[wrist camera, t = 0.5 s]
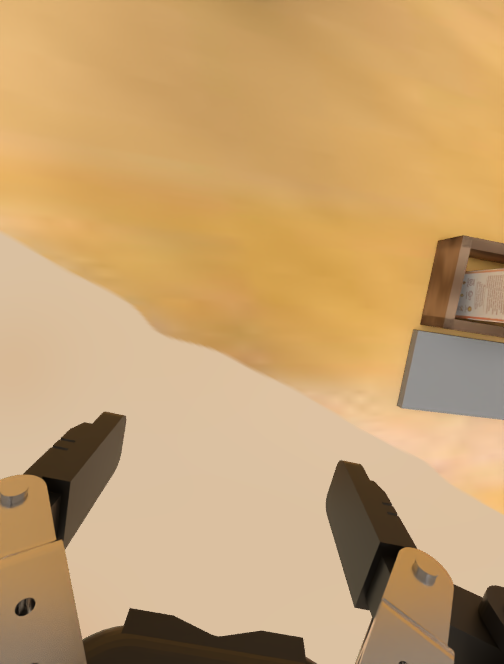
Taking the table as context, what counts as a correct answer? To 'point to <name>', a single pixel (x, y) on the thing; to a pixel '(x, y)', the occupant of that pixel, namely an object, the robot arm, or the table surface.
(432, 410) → the flat gray rectangular board
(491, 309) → the cracker box
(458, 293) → the walnut collar
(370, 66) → the table surface
